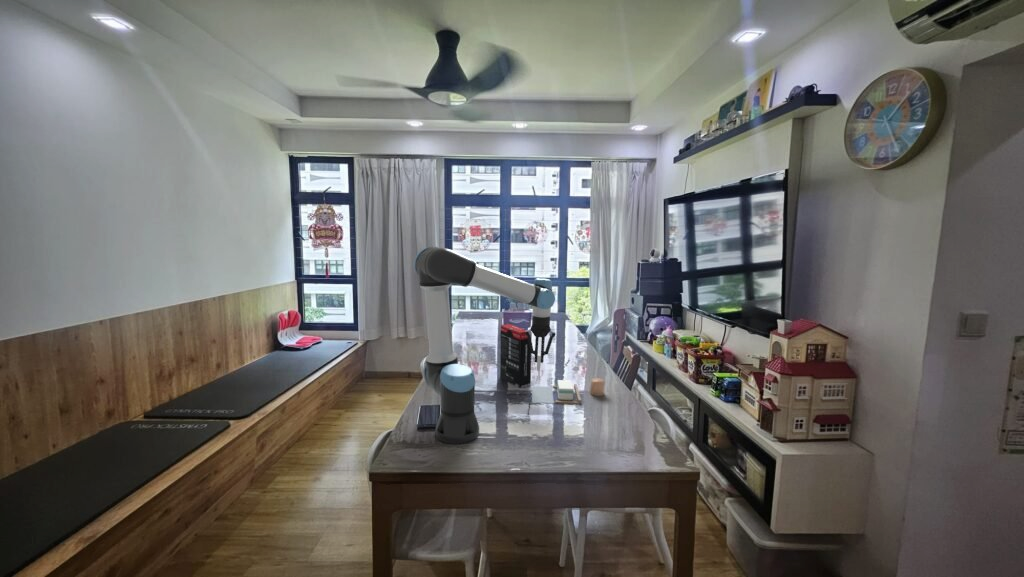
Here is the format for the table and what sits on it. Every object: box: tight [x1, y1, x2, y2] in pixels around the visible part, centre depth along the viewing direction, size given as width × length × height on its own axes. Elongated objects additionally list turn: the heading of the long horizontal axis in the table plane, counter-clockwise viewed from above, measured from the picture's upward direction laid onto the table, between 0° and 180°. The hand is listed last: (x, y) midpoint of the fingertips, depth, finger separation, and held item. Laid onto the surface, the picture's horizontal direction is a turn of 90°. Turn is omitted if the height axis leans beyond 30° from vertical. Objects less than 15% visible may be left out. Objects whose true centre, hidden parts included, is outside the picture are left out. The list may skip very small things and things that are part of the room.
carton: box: [556, 379, 575, 401], centre depth 177 cm, size 10×6×5 cm, turn 177°
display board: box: [531, 383, 582, 405], centre depth 177 cm, size 18×20×3 cm
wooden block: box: [589, 377, 606, 397], centre depth 183 cm, size 6×6×6 cm
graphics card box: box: [499, 324, 533, 389], centre depth 190 cm, size 17×7×27 cm, turn 35°
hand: (538, 369), depth 176 cm, fingers closed
